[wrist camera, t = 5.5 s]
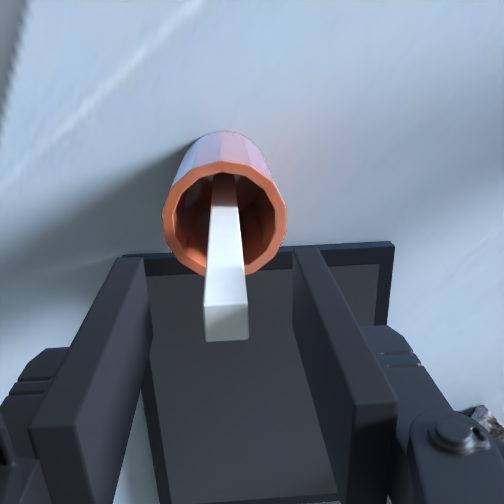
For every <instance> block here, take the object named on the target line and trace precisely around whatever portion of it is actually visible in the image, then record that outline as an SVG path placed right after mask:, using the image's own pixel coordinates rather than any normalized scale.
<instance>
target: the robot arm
mask: <svg viewBox="0 0 504 504" xmlns="http://www.w3.org/2000/svg"><path fill="white" fill-rule="evenodd" d="M292 328H293V331H294V335H295V338H296V342H297V346H298V349H299V353H300V356H301V360H302V364H303V367H304V371H305V375H306V378H307V382H308V385H309V389H310V393H311V396H312V400H313V403H314V407H315V411H316V414H317V418H318V422H319V425H320V429H321V432H322V436H323V440H324V443H325V447H326V450H327V454H328V458H329V461H330V465H331V468H332V472H333V476H334V479H335V483H336V487H337V490H338V494H339V497H340V501H341V504H386V503H387V495H388V496H389V499H390V501H391V504H504V442H501V441H497V440H494V439H493V437H492V436H491V434H490V433H489V432H488V430H487V429H486V428H485V427H483V426H482V425H481V424H480V423H478V422H477V421H476V420H475V419H473V418H471V417H469V416H466V415H464V414H462V413H460V412H457V411H453V409H452V408H451V406H450V405H449V403H448V402H447V400H446V399H445V397H444V396H443V394H442V393H441V392H440V390H439V389H438V387H437V386H436V384H435V383H434V381H433V380H432V378H431V377H430V375H429V374H428V372H427V371H426V369H425V368H424V366H421V362H420V360H419V359H418V357H417V356H416V355H415V354H413V350H412V349H411V347H410V346H409V344H408V343H407V341H406V340H405V338H404V337H403V336H402V335H400V334H399V333H398V332H396V331H395V330H393V329H392V328H390V327H389V326H388V325H379V326H364V327H360V326H359V324H358V322H357V320H356V318H355V316H354V314H353V313H352V311H351V309H350V307H349V305H348V303H347V301H346V299H345V298H344V296H343V294H342V292H341V290H340V288H339V286H338V285H337V283H336V281H335V279H334V277H333V275H332V273H331V271H330V270H329V268H328V266H327V264H326V262H325V260H324V258H323V257H322V255H321V253H320V251H319V249H318V247H315V248H297V249H293V262H292ZM153 336H154V333H153V326H152V319H151V312H150V305H149V298H148V291H147V284H146V276H145V269H144V262H143V257H134V258H117V259H116V261H115V263H114V264H113V266H112V268H111V270H110V272H109V274H108V276H107V278H106V279H105V281H104V283H103V285H102V287H101V289H100V291H99V293H98V295H97V296H96V298H95V300H94V302H93V304H92V306H91V308H90V310H89V311H88V313H87V315H86V317H85V319H84V321H83V323H82V325H81V326H80V328H79V330H78V332H77V334H76V336H75V338H74V340H73V341H72V343H71V345H70V347H61V348H46V349H45V350H44V351H42V352H41V353H40V354H39V355H37V356H36V357H35V358H34V359H32V360H31V361H30V362H29V363H28V364H27V365H26V367H25V368H24V370H23V372H22V373H21V375H20V376H19V378H18V382H15V384H14V385H13V387H12V389H11V390H10V392H9V396H6V398H5V399H4V401H3V403H2V404H1V406H0V504H113V500H114V496H115V492H116V487H117V483H118V479H119V475H120V471H121V467H122V463H123V459H124V455H125V451H126V447H127V442H128V438H129V434H130V430H131V426H132V422H133V418H134V414H135V410H136V406H137V402H138V398H139V393H140V389H141V385H142V381H143V377H144V373H145V369H146V365H147V361H148V357H149V353H150V348H151V344H152V340H153Z"/></svg>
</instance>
